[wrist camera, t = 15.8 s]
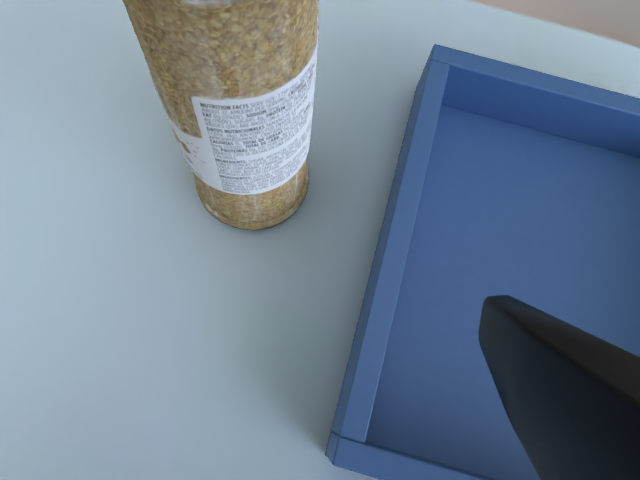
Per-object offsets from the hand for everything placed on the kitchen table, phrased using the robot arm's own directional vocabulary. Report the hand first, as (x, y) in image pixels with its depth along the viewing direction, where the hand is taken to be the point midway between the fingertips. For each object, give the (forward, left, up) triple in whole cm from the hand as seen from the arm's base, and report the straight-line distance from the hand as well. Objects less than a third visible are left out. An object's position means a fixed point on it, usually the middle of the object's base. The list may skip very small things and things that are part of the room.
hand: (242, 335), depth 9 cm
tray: (+1, -11, -9) cm, 14 cm away
